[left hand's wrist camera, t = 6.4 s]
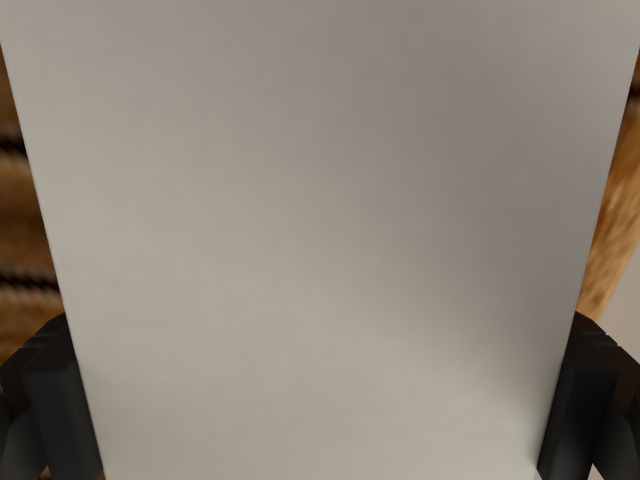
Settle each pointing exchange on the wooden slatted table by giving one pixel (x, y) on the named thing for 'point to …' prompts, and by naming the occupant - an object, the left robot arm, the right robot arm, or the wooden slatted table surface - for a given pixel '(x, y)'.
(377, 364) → the thick board
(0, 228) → the wooden slatted table surface
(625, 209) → the wooden slatted table surface
